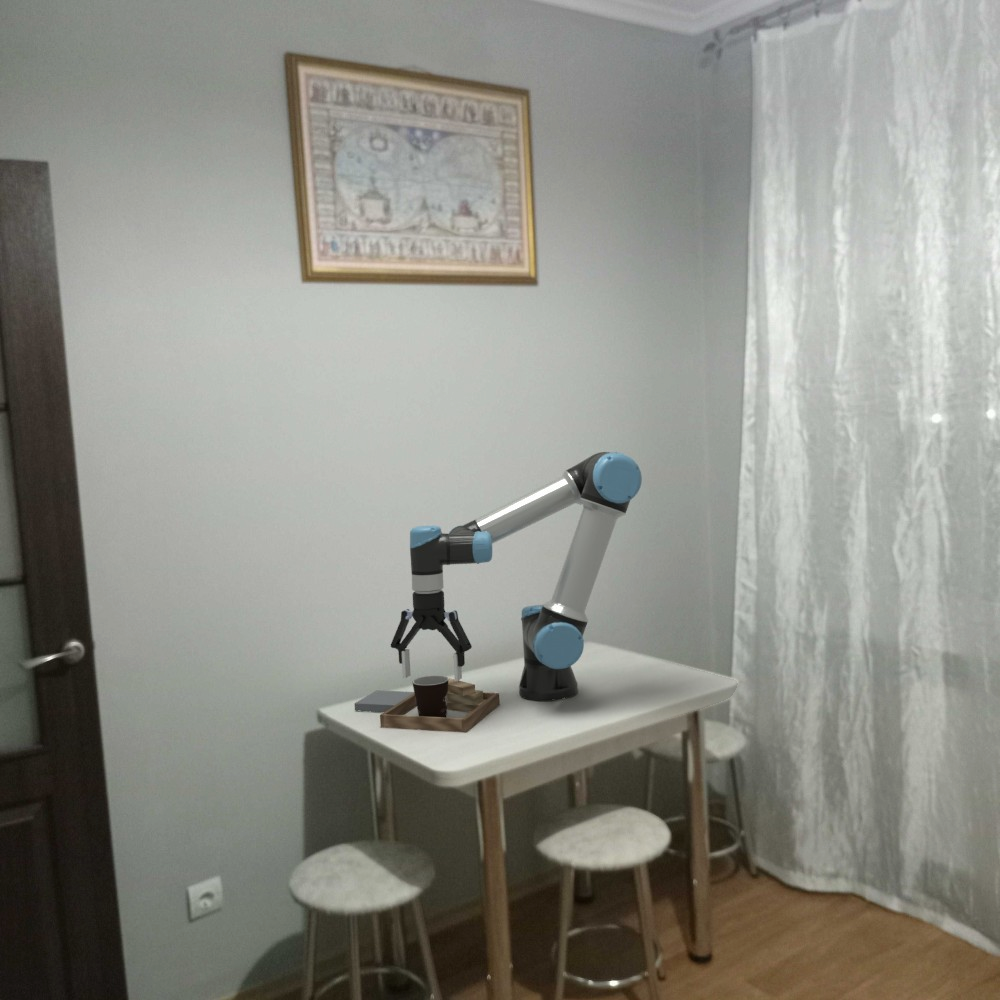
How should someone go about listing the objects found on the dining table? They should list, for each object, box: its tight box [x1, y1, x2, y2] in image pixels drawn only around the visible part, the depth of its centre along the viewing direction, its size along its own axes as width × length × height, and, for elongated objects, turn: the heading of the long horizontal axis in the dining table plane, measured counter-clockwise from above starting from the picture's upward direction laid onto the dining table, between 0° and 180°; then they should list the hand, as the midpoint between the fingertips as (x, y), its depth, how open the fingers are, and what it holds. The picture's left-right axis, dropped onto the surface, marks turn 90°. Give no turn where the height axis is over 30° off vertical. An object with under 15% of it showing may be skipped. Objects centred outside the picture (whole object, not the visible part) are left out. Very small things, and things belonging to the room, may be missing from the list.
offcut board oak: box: [447, 699, 486, 713], centre depth 246 cm, size 16×5×2 cm, turn 65°
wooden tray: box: [379, 691, 501, 733], centre depth 240 cm, size 22×22×3 cm
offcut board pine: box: [447, 689, 484, 705], centre depth 246 cm, size 14×5×2 cm, turn 62°
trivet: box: [353, 690, 414, 713], centre depth 252 cm, size 12×12×2 cm
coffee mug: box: [412, 675, 449, 718], centre depth 237 cm, size 12×9×10 cm
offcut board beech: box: [448, 677, 476, 696], centre depth 246 cm, size 10×4×2 cm, turn 42°
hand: (432, 678), depth 236 cm, fingers open, 13 cm apart
